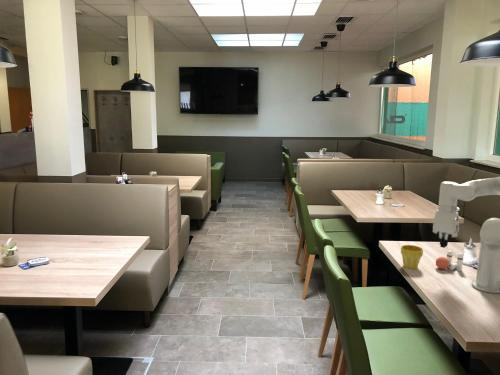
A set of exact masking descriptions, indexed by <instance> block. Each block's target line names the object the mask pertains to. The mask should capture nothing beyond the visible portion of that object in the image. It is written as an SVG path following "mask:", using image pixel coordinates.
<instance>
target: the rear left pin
mask: <svg viewBox="0 0 500 375" xmlns="http://www.w3.org/2000/svg"><path fill="white" fill-rule="evenodd" d="M446 259H447V260H448V261H449V266H450V265H452V264H453V263H452V261H453V250H447V252H446ZM449 266H448V267H447V268H446V269H449Z"/></svg>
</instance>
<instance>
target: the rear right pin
mask: <svg viewBox="0 0 500 375" xmlns="http://www.w3.org/2000/svg"><path fill="white" fill-rule="evenodd" d="M456 261H457V267H456V268H455V270H456V272H457V271H458V272H462V269H463V263H464V253H461V252H458V253H457V259H456Z"/></svg>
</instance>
